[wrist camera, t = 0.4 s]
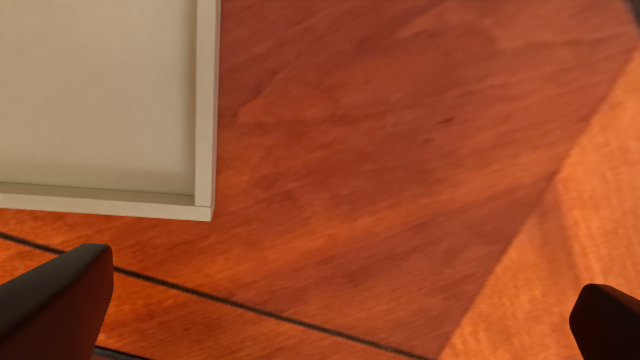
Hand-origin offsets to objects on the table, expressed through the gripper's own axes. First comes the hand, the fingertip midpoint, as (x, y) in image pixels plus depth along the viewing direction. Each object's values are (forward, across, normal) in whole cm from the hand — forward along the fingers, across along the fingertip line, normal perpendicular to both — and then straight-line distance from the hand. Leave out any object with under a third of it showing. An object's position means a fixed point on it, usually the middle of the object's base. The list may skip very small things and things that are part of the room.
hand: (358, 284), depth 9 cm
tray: (+15, +11, -1) cm, 19 cm away
